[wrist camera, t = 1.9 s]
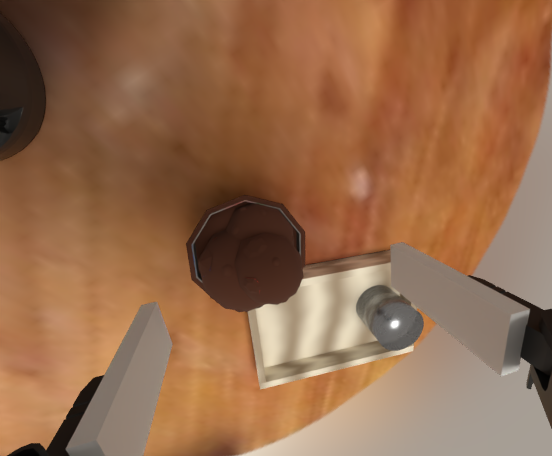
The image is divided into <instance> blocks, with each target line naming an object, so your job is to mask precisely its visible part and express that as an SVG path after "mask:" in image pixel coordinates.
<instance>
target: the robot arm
mask: <svg viewBox="0 0 552 456" xmlns="http://www.w3.org/2000/svg"><path fill="white" fill-rule="evenodd" d="M44 111H45V90H44V84H43V79H42V76H41V73H40V70H39V67H38V64H37V62H36V60H35V58H34V56H33V54H32V52H31V50H30V49H29V47H28V45H27V44H26V42H25V41H24V39H23V38H22V37H21V35H20V34H19V33H18V31H17V30H16V29H15V28H14V27H13V26H12V24H11V23H10V22H9V21H8V20H7V19H6V18H5V17H4V16H3V15H2V14H1V13H0V160H3V159H5V158H8V157H10V156H12V155H14V154H16V153H18V152H19V151H21V150H22V149H23V148H25V147H26V146H27V145H28V144H29V143H30V142H31V141H32V139H33V138H34V137H35V135H36V134H37V132H38V130H39V128H40V126H41V123H42V120H43V116H44ZM391 286H392V287H393V288H394V289H395V290H397V291H398V292H399V293H400V294H402V295H403V296H404V297H405V298H406V299H408V300H409V301H410V302H411V303H413V304H414V305H415V306H416V307H417V308H419V309H420V310H421V311H422V312H423V313H425V314H426V315H427V316H428V317H430V318H431V319H432V320H433V321H434V322H436V323H437V324H438V325H439V326H440V327H442V328H443V329H444V330H445V331H447V332H448V333H449V334H450V335H451V336H453V337H454V338H455V339H456V340H458V341H459V342H460V343H461V344H462V345H464V346H465V347H466V348H468V350H470V351H471V352H472V353H473V354H475V355H476V356H477V357H478V358H479V359H481V360H482V361H483V362H484V363H486V364H487V365H488V366H489V367H490V368H492V369H493V370H494V371H495V372H497V373H498V374H499V375H501V376H503V375H506V374H509V373H512V372H515V371H518V369H519V364H520V359H521V357H522V358H523V359H524V360H526V361H527V362H529V363H530V364H531V365H530V370H529V374H528V379H527V388H528V389H531V387H532V384H533V383H534V384H535V387H536V389H537V392H538V395H539V397H540V400H541V402H542V405H543V407H544V410H545V412H546V415H547V418H548V420H549V423H550V426H551V428H552V309H548V310H543V309H541V308H539V307H537V306H535V305H533V304H531V303H529V302H527V301H525V300H523V299H521V298H519V297H517V296H515V295H513V294H511V293H509V292H505V290H503V289H501V288H499V287H496V286H495V285H493V284H491V283H489V282H487V281H485V280H483V279H480V278H477V277H473V276H470V275H468V276H466V275H464V274H462V273H460V272H459V271H457V270H455V269H453V268H451V267H449V266H447V265H445V264H443V263H441V262H439V261H438V260H436V259H434V258H432V257H430V256H428V255H426V254H424V253H422V252H420V251H418V250H417V249H415V248H413V247H411V246H409V245H407V244H405V243H403V242H401V243H397V244H393V245H391ZM171 348H172V341H171V339H170V336H169V333H168V330H167V328H166V325H165V322H164V320H163V317H162V314H161V311H160V309H159V306H158V303H157V302H153V303H149V304H144V305H141V307H140V309H139V311H138V312H137V314H136V316H135V318H134V320H133V322H132V324H131V326H130V328H129V330H128V331H127V333H126V335H125V337H124V339H123V341H122V343H121V345H120V347H119V349H118V350H117V352H116V354H115V356H114V358H113V360H112V362H111V364H110V366H109V368H108V369H107V371H106V373H105V375H102V376H99V377H95V378H93V379H92V380H91V381H90V382H89V383H88V384H87V386H86V387H85V388H84V389H83V390H82V391H81V392H80V394H79V396H78V397H77V399H76V401H75V402H74V404H73V408H71V409H70V411H69V413H68V414H67V416H66V420H64V421H63V423H62V425H61V426H60V428H59V430H58V431H57V433H56V435H55V437H54V438H53V440H52V442H51V443H50V445H49V447H48V448H47V450H45V449H44V447H43V446H42V445H41V444H40V443H31V444H28V445H26V446H23V447H21V448H19V449H17V450H15V451H14V452H12V453H11V454H9V455H7V456H143V454H144V450H145V447H146V443H147V439H148V435H149V431H150V428H151V424H152V420H153V416H154V412H155V409H156V405H157V401H158V397H159V393H160V390H161V386H162V382H163V378H164V374H165V371H166V367H167V363H168V359H169V355H170V352H171Z"/></svg>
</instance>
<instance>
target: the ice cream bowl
mask: <svg viewBox="0 0 552 456" xmlns="http://www.w3.org/2000/svg"><path fill="white" fill-rule="evenodd" d="M186 246H187V252H188V259H189V265H190V272H191V278H192V280H193V281H194V282H195V283H196V284H197V285H198V286H199V287H201V288H202V289H203V290H204V291H205V292H206V293H207V294H208V295H209V296H210V297H211V298H212V299H214V300H215V301H216V302H217V303H219V304H220V305H221V306H223V307H224V308H226V309H232V310H236V311H238V312H243V311H245V312H248V311H251V310H253V309H257V308H260V307H262V306H263V305H265V304H273V305H278V304H280V303H284V302H287V300H288V299H289V298H290V297H291V296H293V295H294V294H296V293H297V290H298V288H299V287H300V284H301V281H302V279H303V277H304V275H303V268H304V267H305V231H304V230H303V229H302V227H301V226H300V225H299V224H298V223H297V221H296V220H295V219H294V218H293V216H292V215H291V214H290V213H289V211H288V210H287V209H286V208H285V206H284V205H283V204H280V203H276V202H272V201H268V200H264V199H260V198H256V197H251V196H247V195H243V196H241V197H238V198H236V199H233V200H231V201H228V202H226V203H223V204H221V205H218V206H216V207H213V208H211V209H208V210H206V212H205V214H204V215H203V217H202V218H201V220H200V222H199V223H198V225H197V227H196V228H195V230H194V232H193V233H192V235H191V237H190V238H189V240H188V242H187V243H186Z"/></svg>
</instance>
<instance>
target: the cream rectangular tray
mask: <svg viewBox="0 0 552 456" xmlns="http://www.w3.org/2000/svg"><path fill="white" fill-rule="evenodd" d="M303 275H304V277H303V279H302V281H301V284H300V287H299V288H298V290H297V293H296V294H294V295H293V296H291V297H290V298H289V299H288V300H287V302H284V303H280V304H278V305H273V304H265V305H263V306H262V307H260V308H257V309H253V310H251V311H248V317H249V323H250V329H251V336H252V342H253V348H254V354H255V360H256V367H257V373H258V379H259V385H260V389H264V388H268V387H272V386H276V385H280V384H284V383H288V382H292V381H296V380H300V379H303V378H307V377H311V376H315V375H319V374H323V373H327V372H331V371H335V370H339V369H343V368H347V367H351V366H355V365H359V364H363V363H367V362H371V361H375V360H379V359H383V358H387V357H391V356H395V355H399V354H403V353H407V352H411V351H413V348H414V343H413V344H412V345H410V346H409V347H407V348H405V349H402V350H398V351H391V350H387V349H385V348H384V347H383V346H382V345H381V344H380V343H379V341H378V340H377V339H376V338H375V336H374V335H373V334H372V333H371V331H370V330H369V329H368V328H367V326H366V325H365V324H364V323H363V321H362V320H361V319H360V318H359V316H358V315H357V312H356V304H357V301H358V299H359V297H360V296H361V294H362V293H363V292H364V291H366V290H367V289H368V288H370V287H373V286H376V285H384V286H387V287H389V288H390V289H392V290H393V291H394V292H395V293H396V294H397V295H399V296H400V297H401V298H402V299H403V300H405V301H406V302H407V303H408V304H409V305H411V306H412V307H413V308H414V309H415V310H416V311H417V307H416V306H415V305H414V304H413V303H411V302H410V301H409V300H408V299H406V298H405V297H404V296H403V295H402V294H400V293H399V292H398V291H397V290H395V289H394V288H393V287H392V286H391V250H387V251H381V252H376V253H370V254H365V255H360V256H354V257H349V258H343V259H338V260H332V261H327V262H321V263H316V264H310V265H305V267H304V268H303Z"/></svg>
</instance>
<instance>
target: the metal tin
mask: <svg viewBox="0 0 552 456" xmlns="http://www.w3.org/2000/svg"><path fill="white" fill-rule="evenodd" d="M356 312H357V315H358V316H359V318H360V319H361V320H362V321H363V323H364V324H365V325H366V326H367V328H368V329H369V330H370V331H371V333H372V334H373V335H374V336H375V338H376V339H377V340H378V341H379V343H380V344H381V345H382V346H383V347H384V348H385V349H387V350H391V351H398V350H402V349H405V348H407V347H409V346H410V345H412V344H413V343H414V342H415V341H416V340H417V339H418V337H419V336H420V334H421V332H422V330H423V324H424V322H423V318H422V316H421V314H420V313H419V312H418V311H416V310H415V309H414V308H413V307H412V306H411V305H409V304H408V303H407V302H406V301H405V300H403V299H402V298H401V297H400V296H399V295H397V294H396V293H395V292H394V291H393V290H392V289H390V288H389V287H387V286H384V285H376V286H373V287H370V288H368V289H367V290H366V291H364V292H363V293H362V294H361V296H360V297H359V299H358V301H357V304H356Z"/></svg>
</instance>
